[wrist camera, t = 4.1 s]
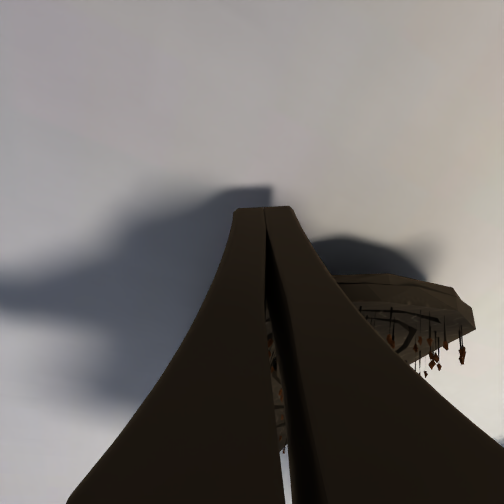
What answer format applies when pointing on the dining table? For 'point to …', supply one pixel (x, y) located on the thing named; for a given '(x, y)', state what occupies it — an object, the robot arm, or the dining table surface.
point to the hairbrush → (393, 323)
